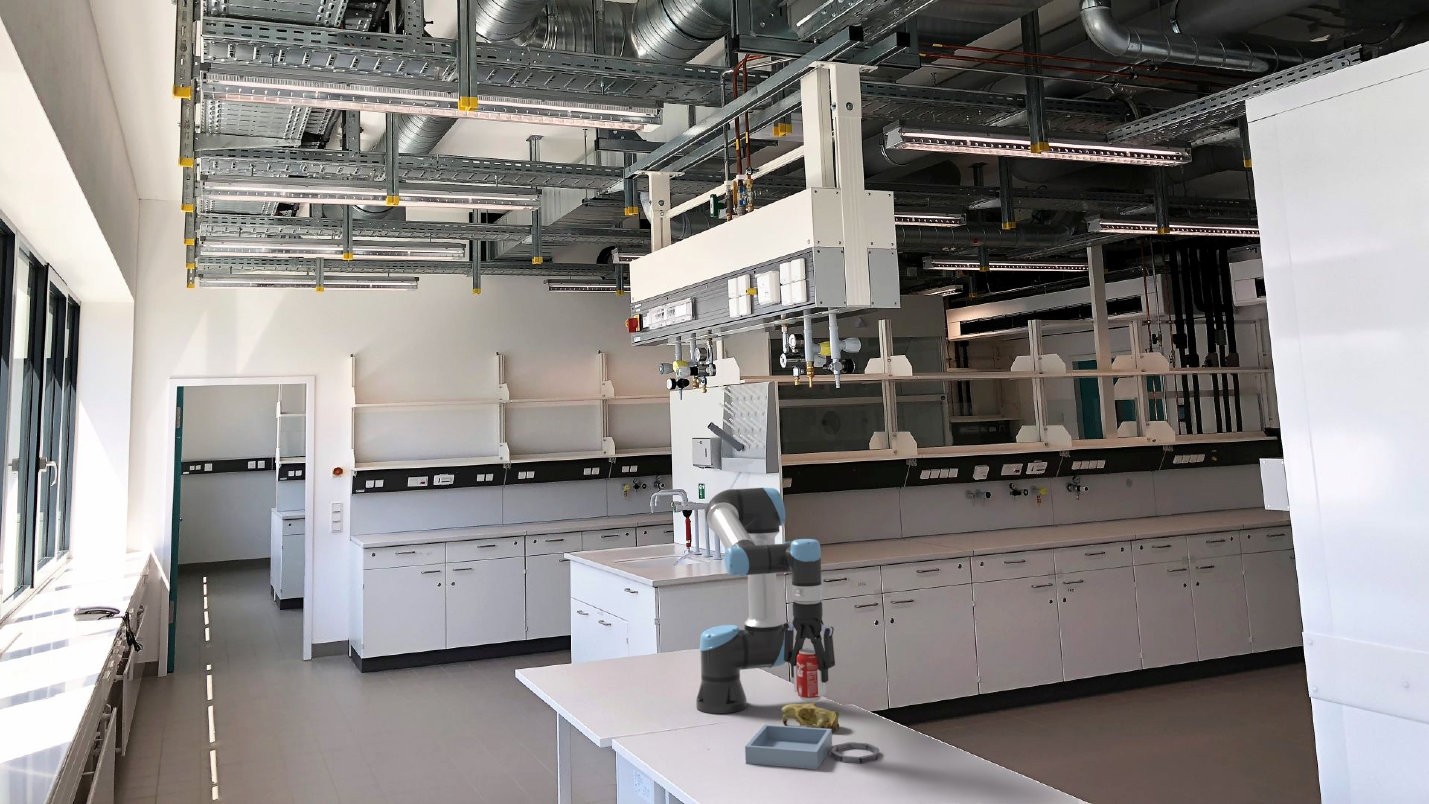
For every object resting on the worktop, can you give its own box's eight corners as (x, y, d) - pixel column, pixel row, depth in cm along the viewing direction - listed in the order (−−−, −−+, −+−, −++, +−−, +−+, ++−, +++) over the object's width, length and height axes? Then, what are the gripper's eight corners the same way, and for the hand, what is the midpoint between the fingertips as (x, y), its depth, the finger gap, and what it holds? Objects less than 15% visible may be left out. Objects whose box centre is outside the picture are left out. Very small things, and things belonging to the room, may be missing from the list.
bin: (765, 740, 246) (764, 724, 246) (832, 745, 240) (831, 729, 240) (745, 763, 229) (745, 746, 229) (817, 769, 223) (816, 751, 223)
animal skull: (780, 724, 259) (780, 700, 259) (835, 723, 260) (835, 699, 260) (785, 737, 249) (785, 711, 249) (842, 736, 249) (842, 710, 250)
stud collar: (836, 745, 239) (836, 741, 239) (881, 749, 236) (881, 744, 236) (827, 760, 229) (827, 755, 229) (874, 764, 225) (874, 759, 225)
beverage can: (806, 693, 239) (804, 646, 239) (827, 697, 235) (826, 649, 236) (793, 699, 234) (791, 651, 234) (814, 703, 230) (813, 655, 231)
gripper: (767, 600, 238) (770, 690, 238) (833, 607, 227) (836, 702, 226) (783, 595, 244) (785, 683, 244) (848, 602, 233) (851, 694, 232)
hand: (810, 692), depth 235 cm, fingers closed on beverage can, 6 cm apart
